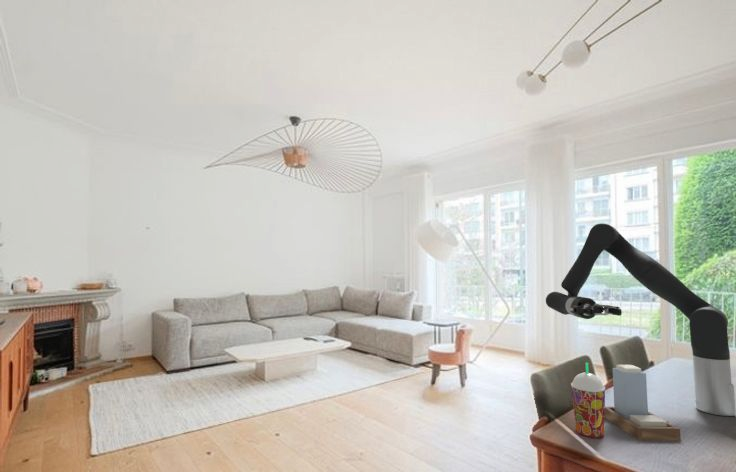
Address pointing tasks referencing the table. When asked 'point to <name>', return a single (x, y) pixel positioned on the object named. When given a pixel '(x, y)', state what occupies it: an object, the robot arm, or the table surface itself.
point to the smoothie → (588, 404)
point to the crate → (643, 428)
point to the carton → (629, 391)
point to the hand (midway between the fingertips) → (606, 312)
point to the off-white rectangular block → (648, 421)
